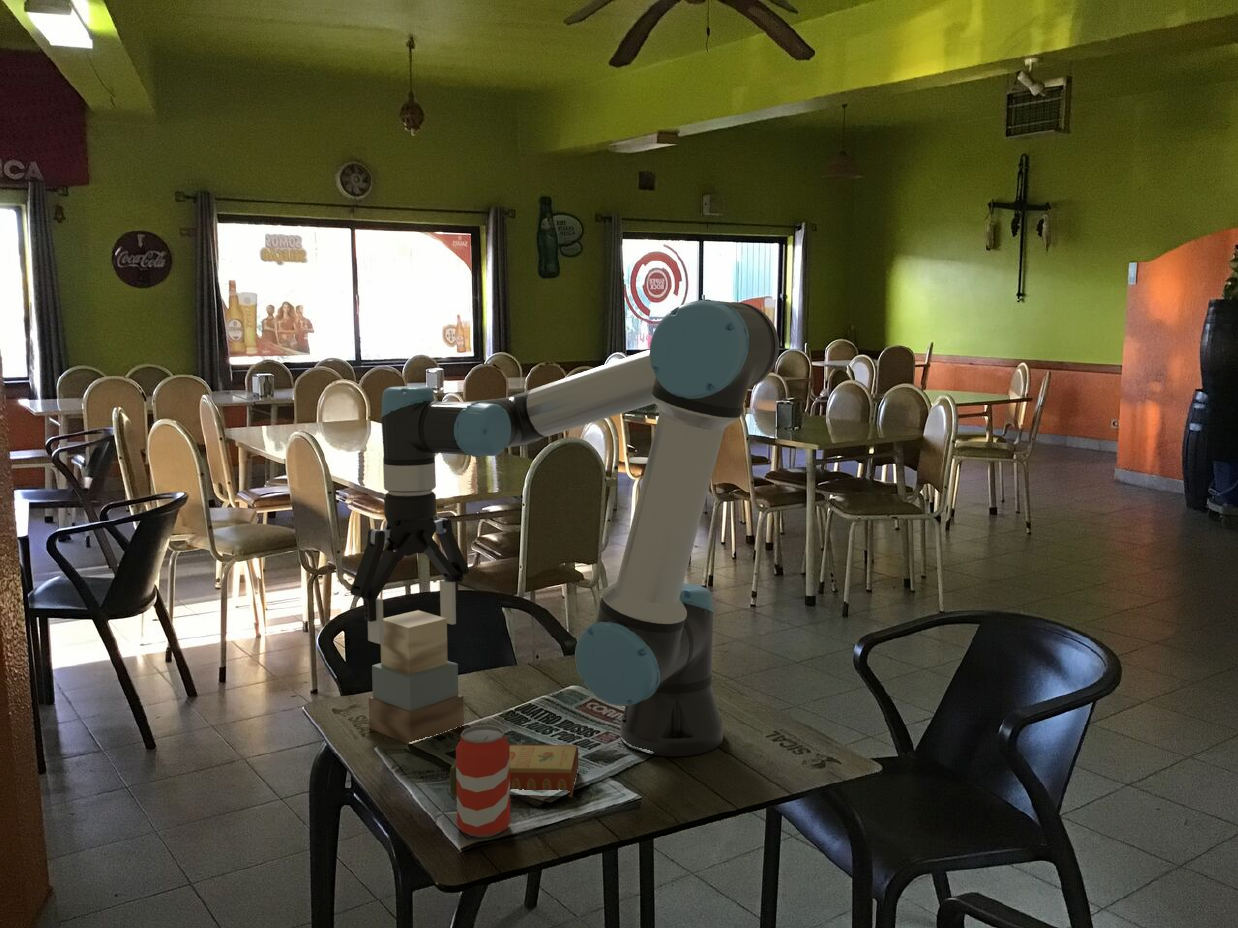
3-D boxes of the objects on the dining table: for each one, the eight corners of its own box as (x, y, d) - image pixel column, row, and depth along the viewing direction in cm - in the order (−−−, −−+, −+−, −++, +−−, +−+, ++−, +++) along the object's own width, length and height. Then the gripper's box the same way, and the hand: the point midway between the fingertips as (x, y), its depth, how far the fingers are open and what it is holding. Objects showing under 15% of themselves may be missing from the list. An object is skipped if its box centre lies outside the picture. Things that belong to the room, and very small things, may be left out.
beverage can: (452, 839, 129) (450, 741, 127) (466, 815, 135) (464, 722, 134) (502, 842, 128) (501, 744, 127) (514, 818, 134) (513, 724, 133)
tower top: (458, 695, 165) (457, 663, 164) (410, 711, 158) (409, 678, 157) (420, 683, 170) (419, 652, 170) (372, 697, 164) (371, 665, 163)
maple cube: (447, 663, 164) (446, 618, 163) (409, 674, 159) (408, 627, 158) (419, 654, 169) (418, 610, 168) (381, 664, 164) (380, 618, 163)
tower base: (463, 727, 165) (463, 695, 165) (410, 746, 158) (410, 712, 157) (422, 711, 172) (421, 681, 171) (369, 729, 165) (368, 697, 164)
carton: (572, 800, 140) (572, 768, 140) (449, 797, 141) (448, 765, 141) (578, 773, 149) (578, 743, 148) (462, 770, 150) (461, 740, 149)
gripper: (457, 480, 172) (460, 611, 175) (322, 499, 154) (327, 645, 156) (490, 484, 168) (492, 619, 170) (354, 504, 149) (359, 655, 151)
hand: (413, 632), depth 163 cm, fingers open, 13 cm apart
